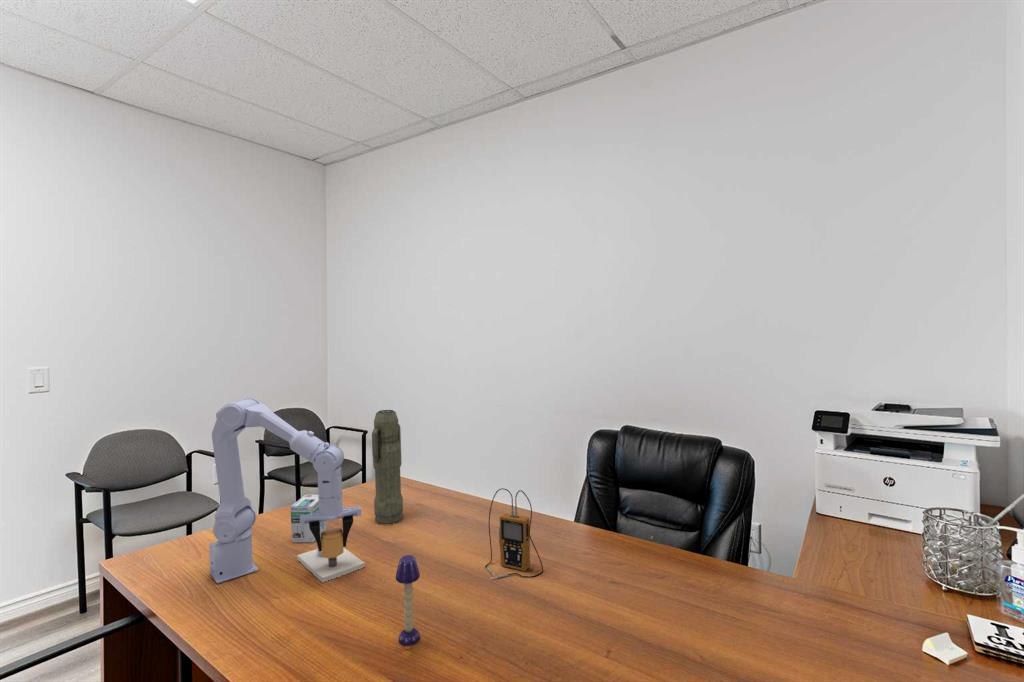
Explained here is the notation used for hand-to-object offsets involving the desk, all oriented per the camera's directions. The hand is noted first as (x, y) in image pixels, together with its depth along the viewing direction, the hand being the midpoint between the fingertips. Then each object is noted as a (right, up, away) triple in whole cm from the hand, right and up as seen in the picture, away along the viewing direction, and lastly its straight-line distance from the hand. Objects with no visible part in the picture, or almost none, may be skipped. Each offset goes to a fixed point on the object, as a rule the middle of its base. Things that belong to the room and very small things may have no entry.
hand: (332, 547), depth 130 cm
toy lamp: (+26, -7, -29) cm, 39 cm away
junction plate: (-2, -6, +4) cm, 7 cm away
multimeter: (+45, -5, -3) cm, 46 cm away
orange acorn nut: (0, -1, 0) cm, 1 cm away
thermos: (+7, -5, +33) cm, 34 cm away
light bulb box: (-14, -6, +22) cm, 27 cm away
